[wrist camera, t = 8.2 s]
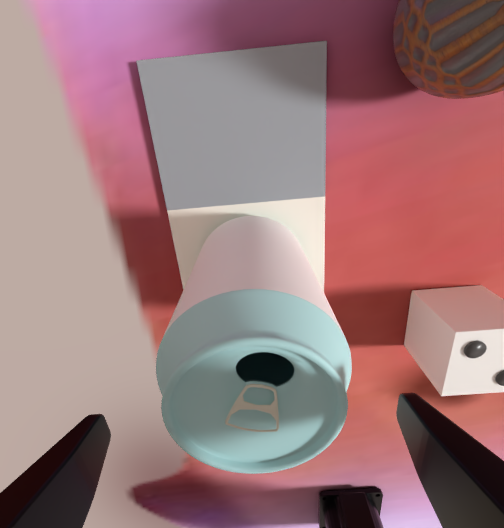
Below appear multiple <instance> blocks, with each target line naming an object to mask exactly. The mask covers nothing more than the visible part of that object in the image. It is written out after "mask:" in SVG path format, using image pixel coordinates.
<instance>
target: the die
mask: <svg viewBox="0 0 504 528" xmlns="http://www.w3.org/2000/svg"><path fill="white" fill-rule="evenodd" d="M404 346H405V348H406V349H407V351H408V352H409V353H410V355H411V356H412V357H413V359H414V360H415V361H416V363H417V364H418V365H419V367H420V368H421V369H422V371H423V372H424V374H425V375H426V376H427V378H428V379H429V380H430V382H431V383H432V384H433V386H434V387H435V388H436V390H437V391H438V392H439V394H440V395H441V396H452V395H467V394H482V393H497V392H504V299H503V298H501V297H499V296H498V295H496V294H495V293H493V292H492V291H490V290H488V289H487V288H485V287H484V286H482V285H476V286H463V287H451V288H438V289H425V290H412V293H411V299H410V306H409V313H408V320H407V327H406V334H405V340H404Z"/></svg>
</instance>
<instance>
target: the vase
mask: <svg viewBox="0 0 504 528" xmlns="http://www.w3.org/2000/svg"><path fill="white" fill-rule="evenodd" d="M393 44H394V51H395V56H396V59H397V62H398V64H399V67H400V69H401V70H402V72H403V73H404V75H405V76H406V77H407V79H408V80H409V81H410V82H411V83H412V84H413V85H414V86H416V87H417V88H419V89H420V90H422V91H424V92H426V93H428V94H431V95H434V96H438V97H443V98H449V99H461V98H473V97H480V96H485V95H489V94H493V93H497V92H500V91H503V90H504V0H399V2H398V5H397V9H396V14H395V19H394V28H393Z"/></svg>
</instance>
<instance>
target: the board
mask: <svg viewBox="0 0 504 528" xmlns="http://www.w3.org/2000/svg"><path fill="white" fill-rule="evenodd" d="M137 66H138V71H139V76H140V81H141V86H142V91H143V95H144V100H145V105H146V110H147V115H148V120H149V125H150V130H151V134H152V139H153V144H154V149H155V154H156V159H157V164H158V168H159V173H160V178H161V183H162V188H163V193H164V198H165V203H166V207H167V212H168V217H169V222H170V227H171V232H172V237H173V242H174V246H175V251H176V256H177V261H178V266H179V271H180V276H181V280H182V285H183V290H184V288H185V286H186V283H187V281H188V279H189V277H190V274H191V272H192V270H193V267H194V265H195V263H196V260H197V258H198V256H199V253H200V251H201V249H202V247H203V244H204V243H205V241H206V239H207V238H208V236H209V235H210V234H211V233H212V232H213V231H214V230H215V229H216V228H217V227H219V226H220V225H222V224H223V223H225V222H227V221H229V220H232V219H235V218H238V217H244V216H260V217H266V218H269V219H272V220H275V221H277V222H279V223H281V224H282V225H284V226H285V227H286V228H288V229H289V230H290V231H291V232H292V233H293V234H294V235H295V237H296V238H297V239H298V241H299V243H300V245H301V247H302V249H303V251H304V253H305V255H306V257H307V259H308V261H309V263H310V265H311V267H312V270H313V272H314V274H315V276H316V278H317V280H318V282H319V284H320V286H321V288H322V290H323V292H324V251H325V162H326V72H327V41H319V42H309V43H300V44H290V45H281V46H271V47H262V48H252V49H243V50H233V51H224V52H214V53H205V54H195V55H186V56H176V57H167V58H157V59H148V60H139V61H137Z"/></svg>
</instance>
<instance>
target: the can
mask: <svg viewBox="0 0 504 528" xmlns="http://www.w3.org/2000/svg"><path fill="white" fill-rule="evenodd" d="M351 371H352V370H351V354H350V349H349V346H348V343H347V340H346V338H345V336H344V334H343V332H342V330H341V328H340V325H339V323H338V321H337V319H336V317H335V315H334V313H333V311H332V309H331V307H330V305H329V303H328V301H327V299H326V296H325V294H324V292H323V290H322V288H321V286H320V284H319V282H318V280H317V278H316V276H315V274H314V272H313V270H312V267H311V265H310V263H309V261H308V259H307V257H306V255H305V253H304V251H303V249H302V247H301V245H300V243H299V241H298V239H297V238H296V237H295V235H294V234H293V233H292V232H291V231H290V230H289V229H288V228H286V227H285V226H284V225H282V224H281V223H279V222H277V221H275V220H272V219H269V218H266V217H260V216H244V217H238V218H235V219H232V220H229V221H227V222H225V223H223V224H222V225H220V226H219V227H217V228H216V229H215V230H214V231H213V232H212V233H211V234H210V235H209V236H208V238H207V239H206V241H205V243H204V244H203V247H202V249H201V251H200V253H199V256H198V258H197V260H196V263H195V265H194V267H193V270H192V272H191V274H190V277H189V279H188V281H187V283H186V286H185V288H184V290H183V293H182V295H181V297H180V300H179V302H178V304H177V306H176V309H175V311H174V313H173V316H172V318H171V320H170V323H169V325H168V327H167V330H166V332H165V334H164V336H163V339H162V341H161V343H160V346H159V349H158V353H157V360H156V374H157V381H158V385H159V388H160V391H161V394H162V396H163V397H162V407H161V409H162V416H163V421H164V423H165V426H166V428H167V430H168V432H169V434H170V435H171V437H172V438H173V439H174V440H175V442H176V443H177V444H178V445H179V446H180V447H181V448H182V449H183V450H184V451H185V452H187V453H188V454H189V455H191V456H192V457H194V458H195V459H197V460H199V461H201V462H203V463H205V464H207V465H210V466H212V467H215V468H218V469H222V470H226V471H230V472H237V473H249V474H258V473H270V472H276V471H281V470H285V469H289V468H292V467H295V466H297V465H300V464H302V463H304V462H307V461H308V460H310V459H312V458H314V457H315V456H317V455H318V454H320V453H321V452H322V451H323V450H325V449H326V448H327V447H328V446H329V445H330V444H331V443H332V442H333V440H334V439H335V438H336V437H337V435H338V434H339V432H340V431H341V429H342V427H343V425H344V422H345V420H346V416H347V409H348V399H347V393H346V392H347V389H348V386H349V383H350V379H351Z"/></svg>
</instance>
